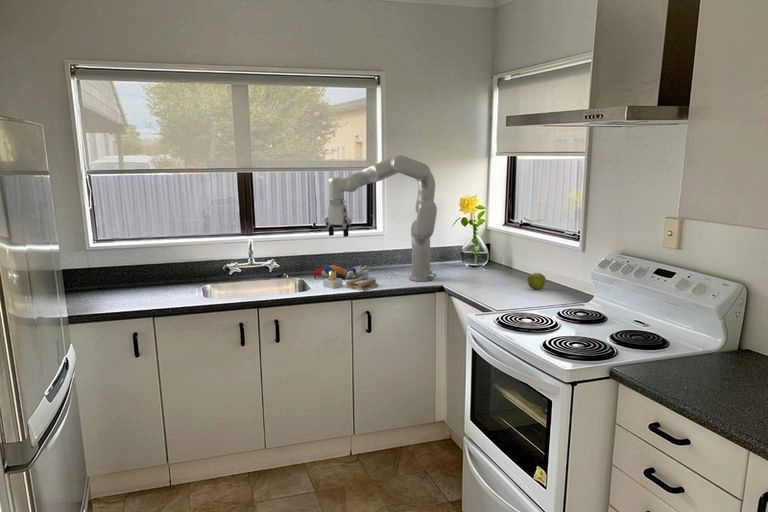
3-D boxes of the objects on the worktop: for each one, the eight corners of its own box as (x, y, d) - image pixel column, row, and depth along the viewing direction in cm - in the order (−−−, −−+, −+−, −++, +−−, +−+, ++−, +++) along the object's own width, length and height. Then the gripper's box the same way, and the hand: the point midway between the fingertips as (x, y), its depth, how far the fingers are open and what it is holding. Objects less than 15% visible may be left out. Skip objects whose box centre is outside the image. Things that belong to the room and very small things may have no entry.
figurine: (308, 286, 291) (365, 285, 285) (307, 270, 290) (364, 268, 284) (323, 275, 317) (376, 273, 311) (322, 260, 315) (374, 258, 309)
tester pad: (368, 282, 282) (368, 281, 282) (360, 284, 277) (360, 283, 277) (361, 281, 285) (361, 280, 285) (353, 283, 280) (353, 282, 280)
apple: (546, 291, 266) (547, 275, 265) (526, 290, 269) (527, 274, 267) (546, 288, 273) (547, 271, 272) (527, 287, 276) (528, 271, 274)
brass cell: (333, 286, 281) (332, 271, 279) (327, 285, 283) (327, 270, 282) (337, 284, 284) (337, 270, 282) (332, 284, 286) (331, 269, 284)
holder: (342, 285, 284) (342, 279, 283) (333, 288, 278) (333, 281, 278) (332, 284, 288) (332, 277, 287) (323, 286, 283) (323, 279, 282)
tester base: (378, 285, 282) (378, 279, 282) (362, 290, 273) (362, 284, 272) (362, 283, 289) (361, 277, 288) (346, 287, 279) (346, 281, 279)
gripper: (354, 202, 282) (356, 235, 286) (328, 201, 292) (330, 234, 296) (345, 203, 277) (347, 238, 280) (319, 202, 286) (321, 236, 290)
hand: (338, 236), depth 288 cm, fingers open, 9 cm apart
